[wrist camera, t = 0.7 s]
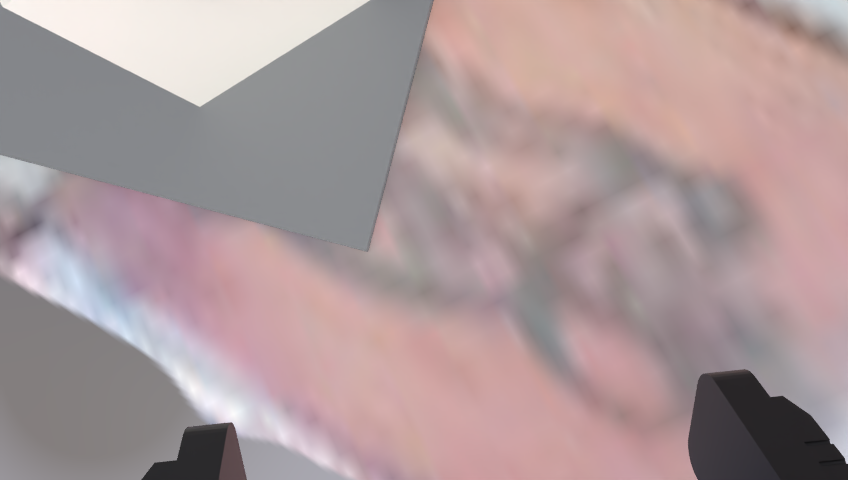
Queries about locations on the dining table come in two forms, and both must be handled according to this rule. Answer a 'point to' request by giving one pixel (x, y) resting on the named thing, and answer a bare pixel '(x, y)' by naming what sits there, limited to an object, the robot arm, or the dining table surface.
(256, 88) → the mat
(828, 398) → the dining table surface
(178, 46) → the tile
